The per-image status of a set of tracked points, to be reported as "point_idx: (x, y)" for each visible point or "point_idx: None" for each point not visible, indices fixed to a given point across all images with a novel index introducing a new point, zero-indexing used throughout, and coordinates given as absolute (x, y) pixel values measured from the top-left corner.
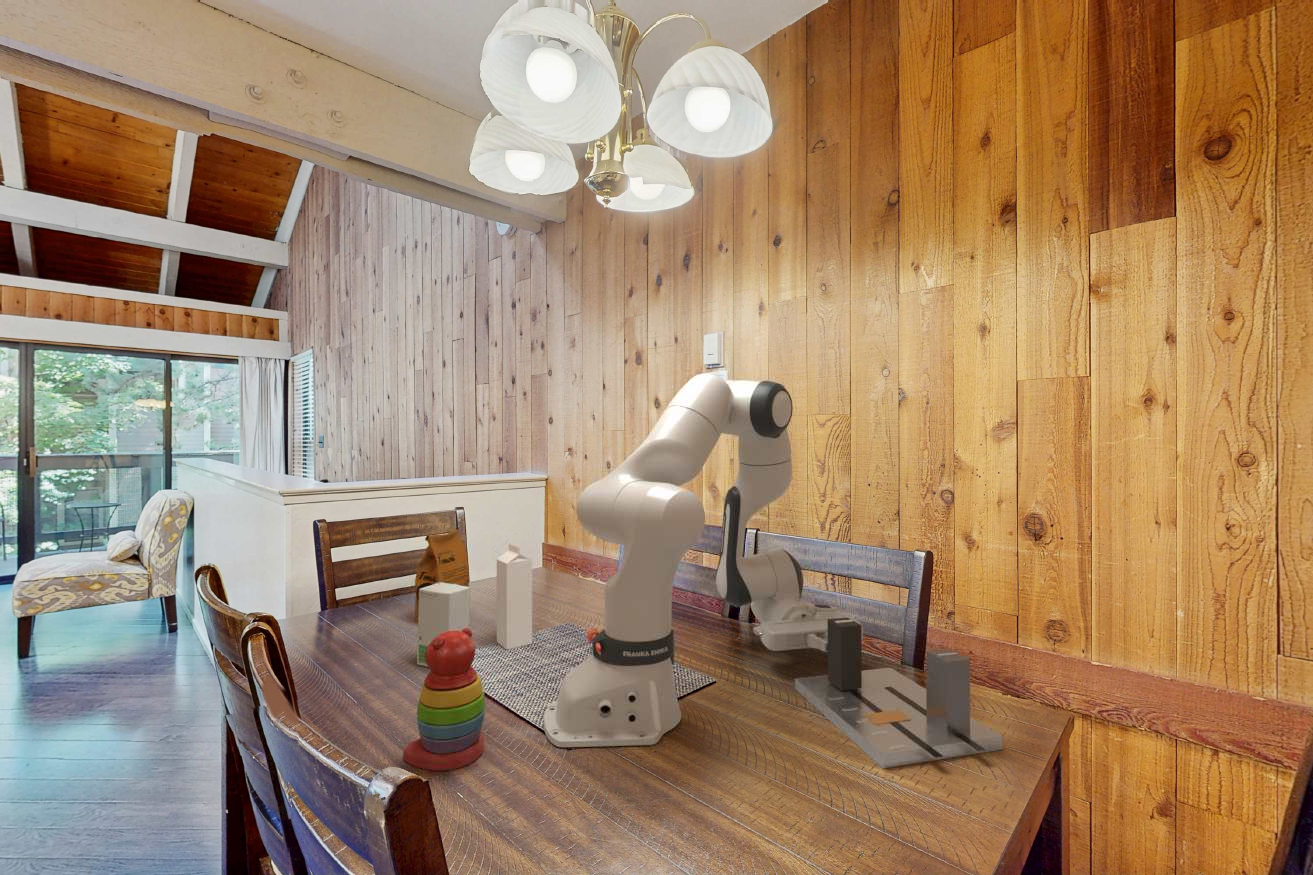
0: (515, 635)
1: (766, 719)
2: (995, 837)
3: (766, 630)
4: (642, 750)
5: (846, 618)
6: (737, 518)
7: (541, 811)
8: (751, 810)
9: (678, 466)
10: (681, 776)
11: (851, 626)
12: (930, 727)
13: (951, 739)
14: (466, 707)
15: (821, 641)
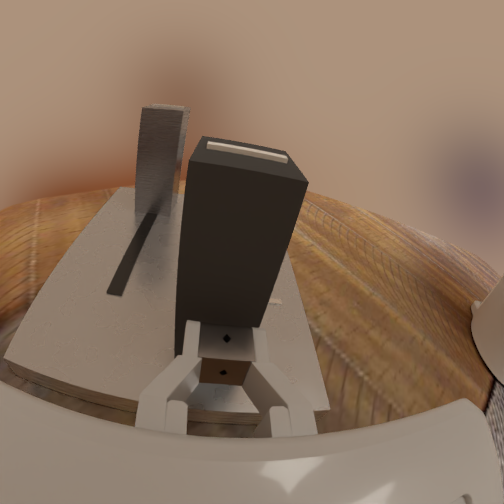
0: None
1: (386, 324)
2: None
3: (489, 432)
4: (473, 302)
5: (205, 158)
6: None
7: (480, 270)
8: (386, 234)
9: None
10: (437, 270)
11: (243, 144)
12: (177, 211)
13: (178, 197)
14: None
15: (267, 351)
